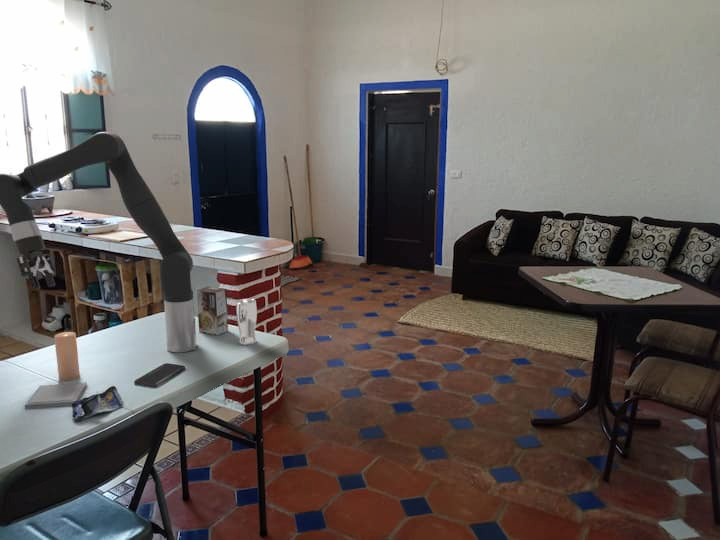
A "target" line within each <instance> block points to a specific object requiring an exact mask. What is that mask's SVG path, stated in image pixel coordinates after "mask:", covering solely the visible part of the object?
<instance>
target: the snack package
mask: <svg viewBox="0 0 720 540" xmlns="http://www.w3.org/2000/svg"><path fill="white" fill-rule="evenodd" d="M121 407H124V401H123V398H122V397H121V395H120V393H119V392H118V389H117V387H116V386H115V385H112V386H109V387H108V388H107V389H106V390H104V391H103V392H101V393H100V392H99V391H96V393H95V394H92V395H90V396H88V397H87V396H85V397H82V398H81V399H79V400H78V401H76V402H74V403H73V404H72V405H71V408H72V413H73V414H72V419H73V420H74V421H75V422H76V423H79V422H81V421H83V420H86V419H89V418H91V417H93V416H96V414H100V413H105V412H108V410H105V409H116V408H117V409H121ZM99 410H102V411H99ZM111 411H113V410H110V412H111Z"/></svg>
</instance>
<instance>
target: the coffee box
mask: <svg viewBox="0 0 720 540" xmlns="http://www.w3.org/2000/svg"><path fill="white" fill-rule="evenodd" d="M227 295H228V293H227V288H221V287H215V286H214V287H213V286H204V287H202V288H199V289H197V290H196V302H197V303H196V304H197V316H198V317H197V318H198V332H199V331H200V332H199V333H203V332H206V333H205V334H209V333H211V334H210V335H214V334H216V335H215V336H220V335H222V334H224V333H227V332H228V331H229V319H228V318H229V316H228V298H227V297H228V296H227ZM221 333H222V334H221ZM219 334H220V335H219Z"/></svg>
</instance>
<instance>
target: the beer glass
mask: <svg viewBox="0 0 720 540" xmlns="http://www.w3.org/2000/svg"><path fill="white" fill-rule="evenodd" d="M235 308H236V309H235V310H236V320H237V326H238V330H239V336H238V343H240V345H242V344H243V345H242V346H250V345H254V344H256V343H257V338H256V337H257V336H256V327H257V318H258V314H257V313H258V311H257V310H258V308H257V301H256V299H254V298H241V299H238V300H236V307H235Z"/></svg>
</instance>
